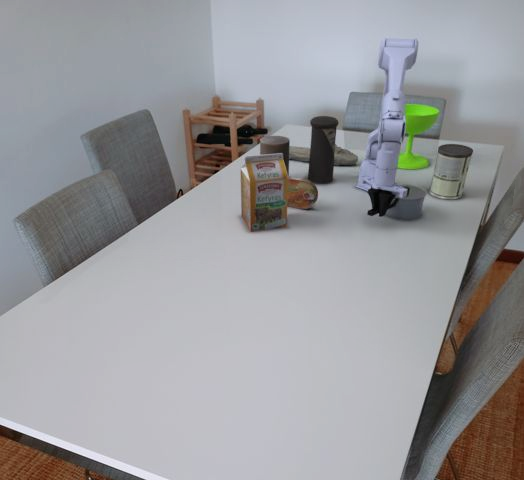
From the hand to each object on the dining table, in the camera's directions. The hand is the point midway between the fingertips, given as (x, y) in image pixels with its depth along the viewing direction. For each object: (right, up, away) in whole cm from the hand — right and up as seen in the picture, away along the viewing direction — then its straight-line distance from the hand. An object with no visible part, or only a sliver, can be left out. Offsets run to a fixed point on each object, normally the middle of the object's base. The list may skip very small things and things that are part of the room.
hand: (378, 214), depth 145 cm
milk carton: (-33, -2, +2) cm, 33 cm away
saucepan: (+5, +1, +5) cm, 7 cm away
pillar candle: (-29, +18, +27) cm, 44 cm away
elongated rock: (-15, +33, +46) cm, 58 cm away
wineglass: (+20, +31, +44) cm, 57 cm away
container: (-14, +19, +29) cm, 37 cm away
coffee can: (+26, +12, +20) cm, 35 cm away
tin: (-24, +6, +12) cm, 27 cm away
